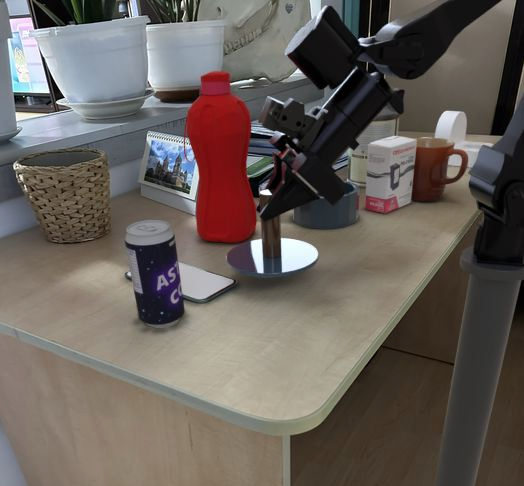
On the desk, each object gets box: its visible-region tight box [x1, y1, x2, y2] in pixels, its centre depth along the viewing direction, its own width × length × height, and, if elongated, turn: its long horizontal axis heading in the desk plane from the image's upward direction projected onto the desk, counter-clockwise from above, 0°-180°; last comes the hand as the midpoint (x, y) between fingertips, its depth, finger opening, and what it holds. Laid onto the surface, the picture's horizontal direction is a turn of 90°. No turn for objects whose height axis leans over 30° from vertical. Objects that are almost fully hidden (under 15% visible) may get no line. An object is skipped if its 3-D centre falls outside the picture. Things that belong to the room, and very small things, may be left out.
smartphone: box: [124, 261, 238, 304], centre depth 77 cm, size 8×1×16 cm
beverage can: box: [124, 219, 186, 329], centre depth 65 cm, size 6×6×12 cm
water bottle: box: [183, 70, 258, 244], centre depth 86 cm, size 9×11×25 cm
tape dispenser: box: [421, 110, 494, 169], centre depth 128 cm, size 10×18×11 cm, turn 51°
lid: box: [225, 189, 319, 279], centre depth 72 cm, size 13×13×10 cm
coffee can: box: [346, 107, 401, 188], centre depth 114 cm, size 10×10×14 cm
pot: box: [291, 179, 361, 230], centre depth 97 cm, size 12×12×5 cm
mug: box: [411, 137, 468, 203], centre depth 102 cm, size 12×9×10 cm
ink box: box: [364, 135, 417, 214], centre depth 99 cm, size 8×5×12 cm, turn 134°
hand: (260, 215), depth 71 cm, fingers closed on lid, 2 cm apart
